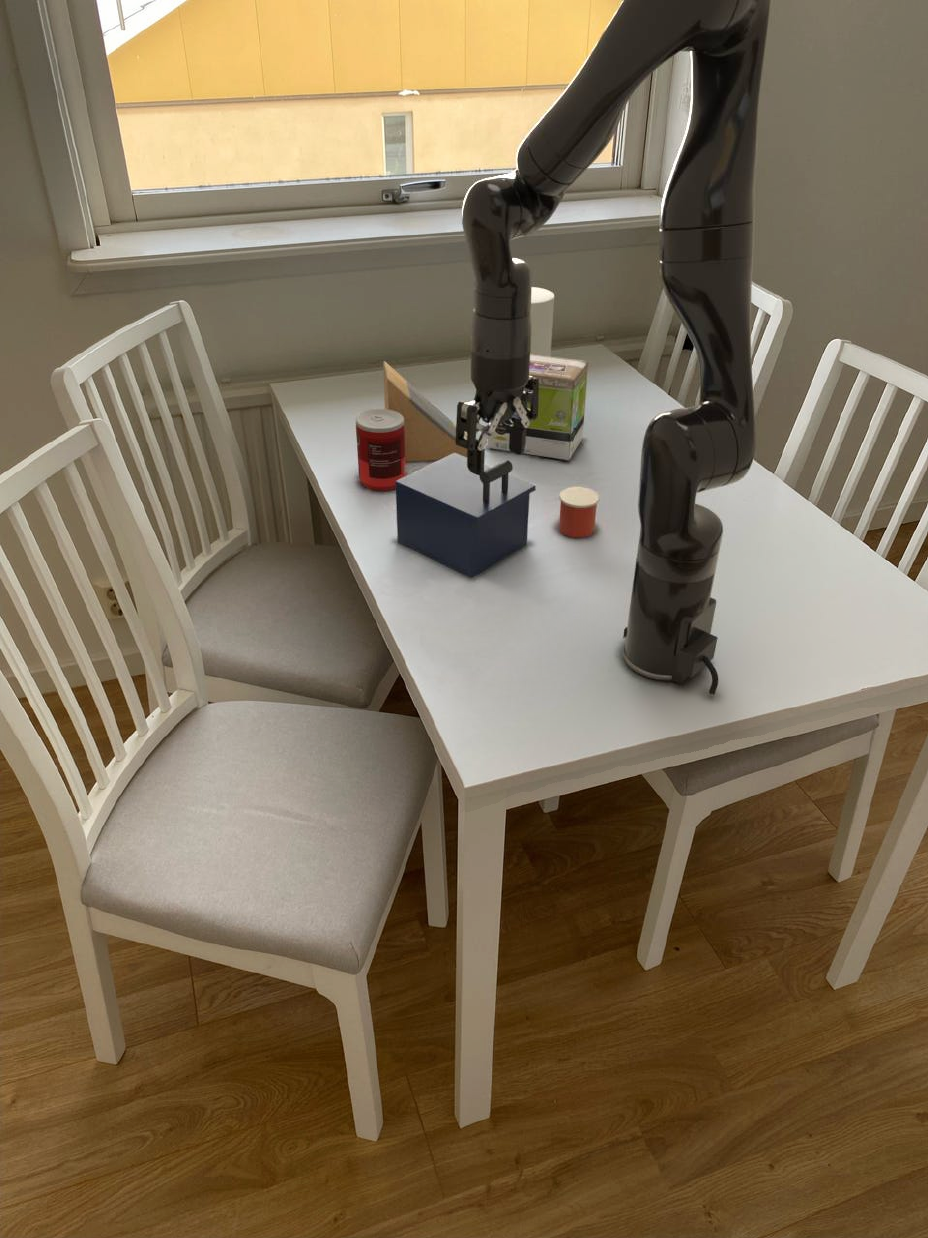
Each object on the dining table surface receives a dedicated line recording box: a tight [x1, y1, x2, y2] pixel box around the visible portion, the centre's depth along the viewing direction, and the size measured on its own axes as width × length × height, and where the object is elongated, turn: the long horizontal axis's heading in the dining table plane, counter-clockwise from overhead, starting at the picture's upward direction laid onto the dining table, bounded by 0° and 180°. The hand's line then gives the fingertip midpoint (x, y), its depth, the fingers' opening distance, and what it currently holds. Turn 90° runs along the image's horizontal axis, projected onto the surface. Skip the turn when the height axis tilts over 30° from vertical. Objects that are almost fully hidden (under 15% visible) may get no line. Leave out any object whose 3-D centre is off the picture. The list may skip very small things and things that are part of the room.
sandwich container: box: [382, 360, 467, 463], centre depth 165 cm, size 9×15×15 cm, turn 99°
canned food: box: [355, 408, 407, 492], centre depth 156 cm, size 8×8×11 cm
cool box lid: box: [395, 453, 537, 523], centre depth 136 cm, size 16×13×5 cm
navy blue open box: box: [395, 486, 531, 579], centre depth 141 cm, size 15×13×9 cm
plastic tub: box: [558, 486, 600, 538], centre depth 146 cm, size 6×6×6 cm
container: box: [530, 286, 555, 357], centre depth 182 cm, size 10×10×20 cm
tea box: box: [487, 354, 589, 461], centre depth 167 cm, size 15×10×15 cm, turn 70°
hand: (496, 462), depth 131 cm, fingers open, 8 cm apart
